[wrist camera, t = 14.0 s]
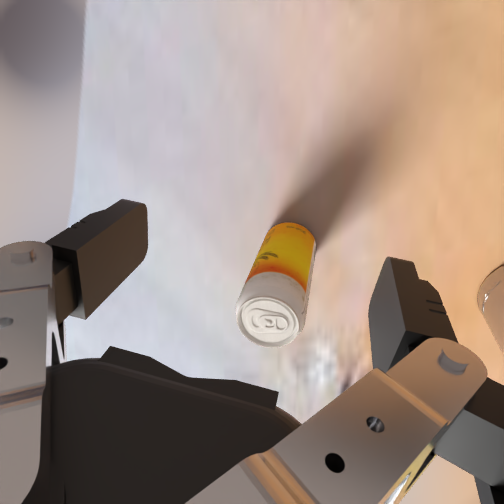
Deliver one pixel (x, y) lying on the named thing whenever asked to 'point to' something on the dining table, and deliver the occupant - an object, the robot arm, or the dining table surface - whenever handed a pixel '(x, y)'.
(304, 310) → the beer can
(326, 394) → the dining table surface
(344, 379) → the dining table surface
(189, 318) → the dining table surface
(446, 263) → the dining table surface
